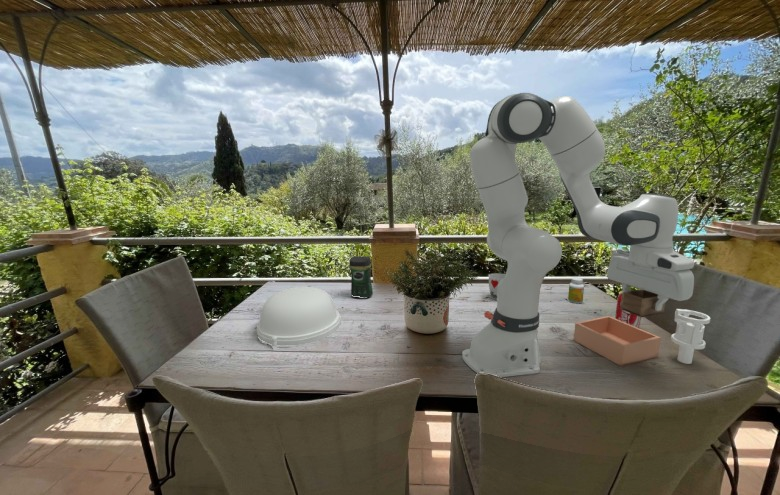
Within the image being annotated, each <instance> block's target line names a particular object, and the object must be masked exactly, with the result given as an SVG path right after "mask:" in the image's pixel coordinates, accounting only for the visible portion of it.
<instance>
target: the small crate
mask: <svg viewBox="0 0 780 495" xmlns="http://www.w3.org/2000/svg"><path fill="white" fill-rule="evenodd" d="M657 297H658V294H655V293H652V292H649V291H645V290H642V289H639V288H637V289H634V290H632V289H631V291H626V292H622V299H621V306H620V309H621V310H624V311H627V312H629V313H632V314H634V315H637V316H639V317H641V318H645V317H650V316H656V315H662V314H665V313H664V312H665V307H666V302H665V303H664V304H663V305H662V309H661V310H660V311H657V310H654V309H652V303H655V302H657V301H658V300H659V299H658V298H657Z"/></svg>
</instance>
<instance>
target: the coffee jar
mask: <svg viewBox="0 0 780 495" xmlns="http://www.w3.org/2000/svg"><path fill="white" fill-rule="evenodd" d="M348 265H349V266H348V267H349V268H348V269H349V270H350V276H351V277H350V281H351V282H350V283H351V284H350V285H351V286H350V296H351V295H353V296H360V297H369V296H371V295H372V296H373V294H374V293H373V292H374V291H373V286H372V284H373V283H372V279H371V267H372V261H371V257H370V256H361V255H360V256H352V257H350V258H349V263H348ZM372 296H371V297H372ZM369 298H370V297H369Z"/></svg>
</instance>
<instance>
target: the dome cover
mask: <svg viewBox="0 0 780 495" xmlns="http://www.w3.org/2000/svg"><path fill="white" fill-rule="evenodd" d="M336 307H337V306H336V304H335V302H334V299H333V298H332V296H331V295H330V294H329V293H328V292H327V291H325V290H324V289H321V288H319V287H315V286H294V287H291V288H286V289H283V290H279V291H278V292H276V293H274V294H272V295H270V297H269V298H268V299H267V300H266V301H265V302H264V304H263V305H262V308H261V312H260V318H259V321H258V323H257V326H256V336H257V335H258V337H259V338H260V339H261V340H263V341H265V342H267V343H270V344H272V346H276V345H299V344H305V343H311V342H314V341H317V340H321V339H323V338H325V337H327V336H329V335H331V334H332V333H334V332H335V331H336V330H337V329H338V328H339V326H340V325H341V326H342V317H341V314H340V312H339V310H338V309H337V308H336ZM272 346H271V347H272Z"/></svg>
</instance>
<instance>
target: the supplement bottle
mask: <svg viewBox="0 0 780 495" xmlns="http://www.w3.org/2000/svg"><path fill="white" fill-rule="evenodd" d="M583 283H584V279H583V278H581V277H576V276H575V277H572V278H571V282H569V285H568V294H567V295H568V296H567V301H568V302H570V303H573V304H581V303H583V301H584V294H585V293H584V292H585V285H584V284H583Z"/></svg>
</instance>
